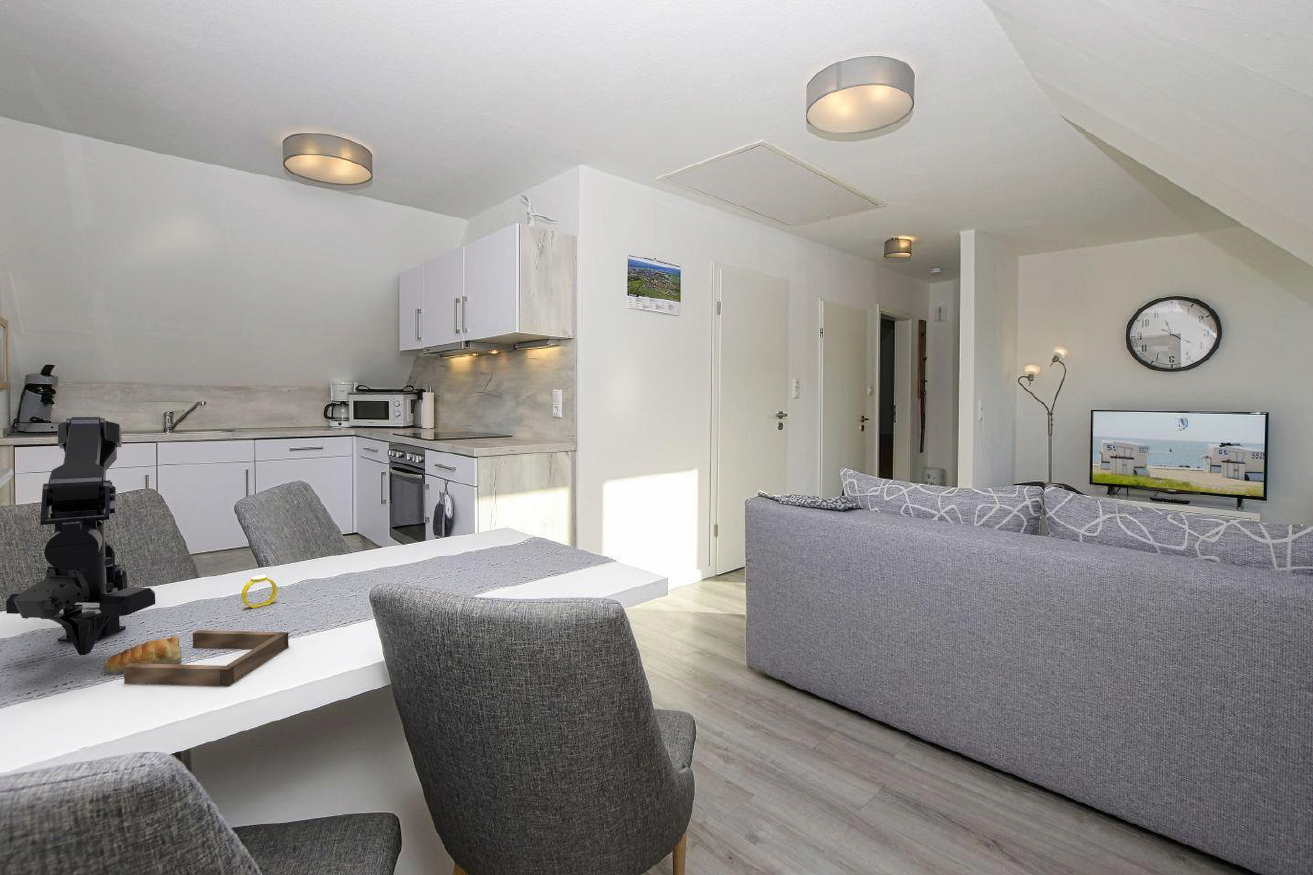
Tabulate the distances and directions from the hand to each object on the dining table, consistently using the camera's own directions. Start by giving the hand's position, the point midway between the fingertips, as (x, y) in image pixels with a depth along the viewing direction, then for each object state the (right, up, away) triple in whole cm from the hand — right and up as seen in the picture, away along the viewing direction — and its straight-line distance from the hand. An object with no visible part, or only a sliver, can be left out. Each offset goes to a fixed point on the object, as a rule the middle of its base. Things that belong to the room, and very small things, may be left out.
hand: (84, 654), depth 99 cm
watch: (+10, 0, +27) cm, 29 cm away
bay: (+20, -1, 0) cm, 21 cm away
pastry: (+11, -2, -1) cm, 11 cm away
